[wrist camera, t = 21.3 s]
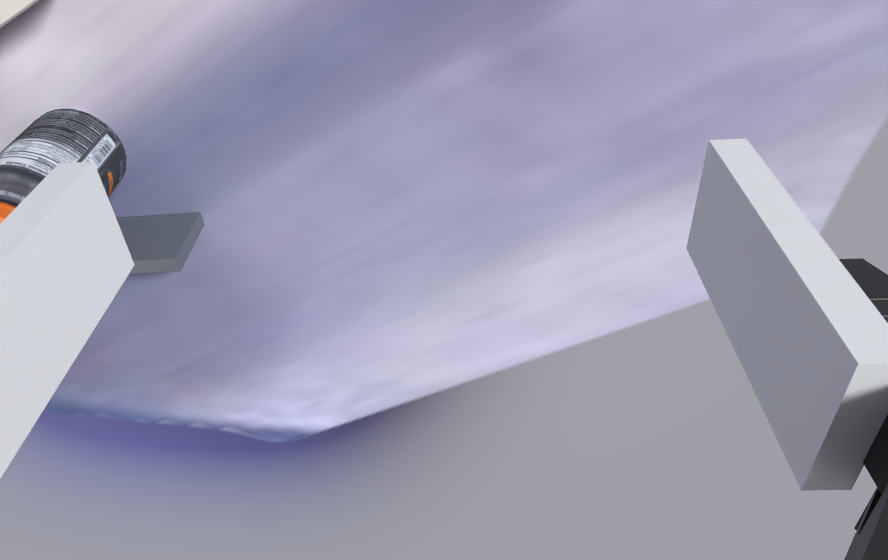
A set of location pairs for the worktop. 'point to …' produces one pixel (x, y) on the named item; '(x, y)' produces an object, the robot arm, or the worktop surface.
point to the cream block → (13, 9)
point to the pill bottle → (58, 154)
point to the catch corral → (160, 240)
